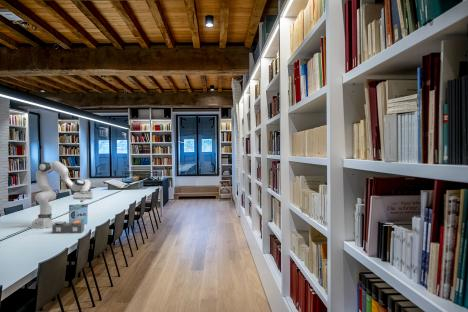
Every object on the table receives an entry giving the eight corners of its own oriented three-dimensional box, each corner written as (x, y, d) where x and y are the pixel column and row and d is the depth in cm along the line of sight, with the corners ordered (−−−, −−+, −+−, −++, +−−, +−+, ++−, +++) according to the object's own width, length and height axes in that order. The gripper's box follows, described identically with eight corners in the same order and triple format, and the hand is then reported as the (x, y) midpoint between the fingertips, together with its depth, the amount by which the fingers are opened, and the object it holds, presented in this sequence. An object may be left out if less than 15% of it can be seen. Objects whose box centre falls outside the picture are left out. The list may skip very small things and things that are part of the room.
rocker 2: (74, 221, 357) (74, 220, 357) (80, 221, 358) (80, 220, 357) (72, 224, 350) (72, 223, 350) (78, 224, 351) (78, 222, 351)
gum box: (86, 222, 401) (87, 203, 401) (87, 223, 397) (87, 204, 397) (68, 224, 391) (69, 204, 391) (69, 225, 386) (69, 205, 386)
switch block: (52, 233, 345) (52, 223, 345) (55, 231, 356) (56, 221, 356) (80, 233, 349) (81, 223, 349) (84, 230, 360) (84, 221, 360)
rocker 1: (58, 223, 354) (58, 221, 355) (64, 223, 355) (64, 221, 356) (56, 223, 348) (56, 221, 348) (62, 223, 348) (62, 221, 349)
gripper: (73, 190, 375) (70, 200, 365) (93, 190, 378) (90, 200, 368) (75, 193, 380) (72, 203, 370) (94, 193, 382) (91, 203, 373)
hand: (81, 201), depth 369 cm, fingers closed
